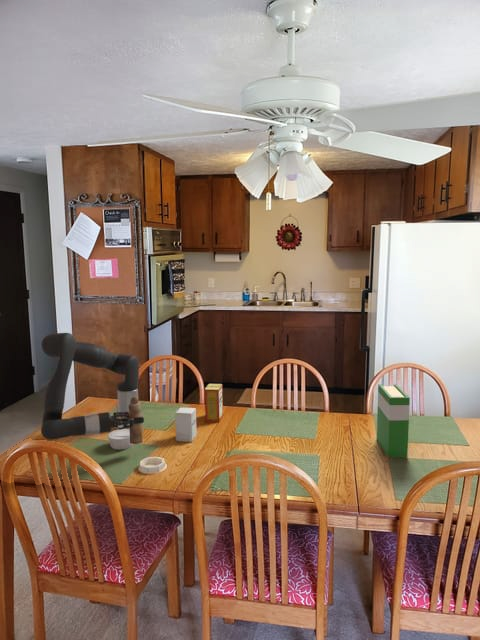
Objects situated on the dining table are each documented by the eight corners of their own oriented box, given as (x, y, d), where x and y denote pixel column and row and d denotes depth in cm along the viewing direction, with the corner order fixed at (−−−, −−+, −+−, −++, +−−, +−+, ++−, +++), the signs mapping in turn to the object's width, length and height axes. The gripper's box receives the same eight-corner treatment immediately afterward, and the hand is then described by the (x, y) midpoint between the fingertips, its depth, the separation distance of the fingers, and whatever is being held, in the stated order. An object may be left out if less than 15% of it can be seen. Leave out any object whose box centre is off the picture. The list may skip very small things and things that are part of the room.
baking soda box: (219, 422, 233) (218, 389, 230) (205, 421, 234) (204, 388, 231) (223, 415, 242) (222, 383, 240) (209, 414, 243) (209, 382, 241)
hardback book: (376, 439, 210) (378, 384, 206) (394, 439, 210) (396, 384, 206) (388, 457, 193) (390, 397, 189) (407, 457, 192) (409, 397, 189)
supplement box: (192, 442, 210) (191, 413, 208) (175, 441, 212) (174, 412, 210) (197, 435, 217) (196, 407, 215) (180, 434, 219) (179, 406, 217)
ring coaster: (132, 472, 184) (132, 464, 183) (151, 461, 193) (151, 453, 192) (154, 478, 179) (153, 470, 178) (172, 467, 187) (172, 459, 187)
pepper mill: (127, 442, 195) (125, 397, 193) (135, 438, 199) (134, 394, 197) (136, 444, 193) (134, 399, 190) (144, 440, 197) (143, 396, 194)
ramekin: (112, 453, 201) (111, 440, 200) (105, 443, 211) (105, 431, 210) (139, 447, 206) (138, 435, 205) (132, 438, 216) (131, 426, 215)
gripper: (99, 420, 182) (145, 413, 189) (95, 408, 196) (138, 403, 202) (100, 439, 183) (146, 432, 190) (95, 426, 197) (139, 420, 203)
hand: (142, 417), depth 196 cm, fingers closed on pepper mill, 4 cm apart
